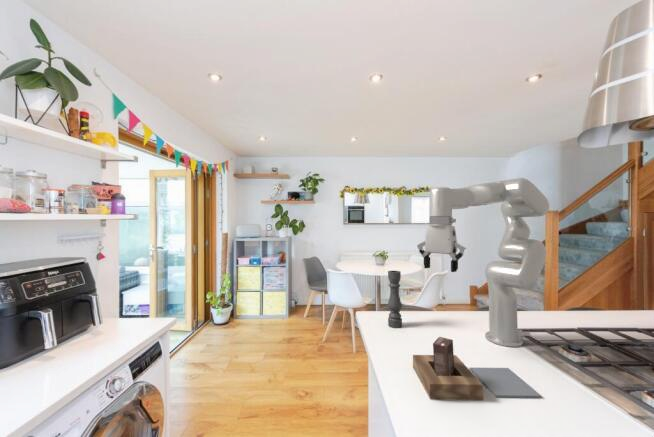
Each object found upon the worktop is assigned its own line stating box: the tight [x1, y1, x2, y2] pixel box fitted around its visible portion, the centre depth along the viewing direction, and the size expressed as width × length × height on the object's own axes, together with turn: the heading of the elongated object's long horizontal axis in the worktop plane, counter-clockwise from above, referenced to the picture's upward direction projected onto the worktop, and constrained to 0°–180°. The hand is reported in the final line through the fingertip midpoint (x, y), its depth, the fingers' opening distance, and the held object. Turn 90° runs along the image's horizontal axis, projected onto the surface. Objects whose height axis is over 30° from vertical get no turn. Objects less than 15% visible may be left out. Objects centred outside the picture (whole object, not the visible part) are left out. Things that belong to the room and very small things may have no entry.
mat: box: [469, 367, 543, 399], centre depth 79 cm, size 12×14×1 cm
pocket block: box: [412, 354, 484, 401], centre depth 79 cm, size 14×16×4 cm
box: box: [432, 336, 455, 376], centre depth 80 cm, size 6×4×12 cm
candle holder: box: [387, 270, 403, 329], centre depth 124 cm, size 6×6×25 cm
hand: (440, 269), depth 95 cm, fingers open, 9 cm apart
